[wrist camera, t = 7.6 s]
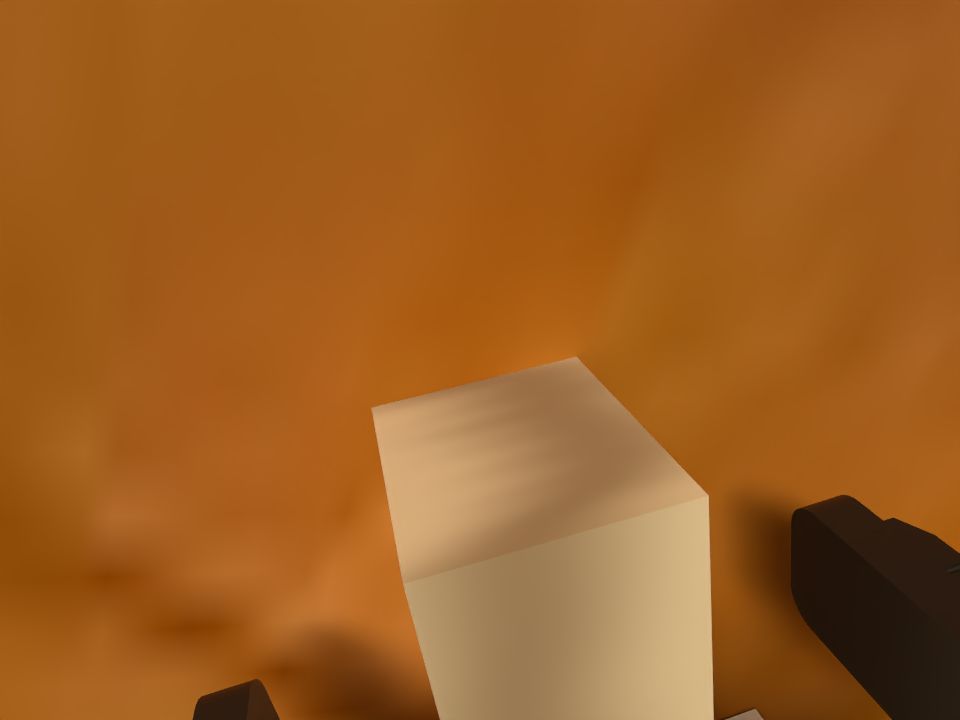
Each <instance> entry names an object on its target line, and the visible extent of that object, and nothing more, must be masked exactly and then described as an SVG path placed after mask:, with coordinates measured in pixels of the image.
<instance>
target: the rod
mask: <svg viewBox="0 0 960 720" xmlns="http://www.w3.org/2000/svg"><path fill="white" fill-rule="evenodd" d="M372 413H373V419H374V425H375V430H376V436H377V441H378V447H379V452H380V458H381V464H382V469H383V475H384V480H385V486H386V492H387V497H388V503H389V508H390V514H391V519H392V525H393V531H394V536H395V542H396V547H397V553H398V558H399V564H400V570H401V575H402V581H403V586H404V589H405V593H406V597H407V600H408V604H409V608H410V611H411V615H412V619H413V622H414V626H415V630H416V633H417V637H418V641H419V644H420V648H421V652H422V655H423V659H424V663H425V666H426V670H427V674H428V677H429V681H430V685H431V688H432V692H433V696H434V699H435V703H436V707H437V710H438V714H439V718H440V720H714V708H713V665H712V622H711V578H710V535H709V496H708V495H707V494H706V492H705V491H704V490H703V489H702V488H701V487H700V486H699V485H698V484H697V483H696V482H695V481H694V480H693V479H692V478H691V477H690V476H689V475H688V474H687V473H686V471H685V470H684V469H683V468H682V467H681V466H680V465H679V464H678V463H677V462H676V461H675V460H674V459H673V458H672V457H671V456H670V455H669V454H668V453H667V451H666V450H665V449H664V448H663V447H662V446H661V445H660V444H659V443H658V442H657V441H656V440H655V439H654V438H653V437H652V436H651V435H650V434H649V433H648V432H647V430H646V429H645V428H644V427H643V426H642V425H641V424H640V423H639V422H638V421H637V420H636V419H635V418H634V417H633V416H632V415H631V414H630V413H629V412H628V411H627V409H626V408H625V407H624V406H623V405H622V404H621V403H620V402H619V401H618V400H617V399H616V398H615V397H614V396H613V395H612V394H611V393H610V392H609V391H608V389H607V388H606V387H605V386H604V385H603V384H602V383H601V382H600V381H599V380H598V379H597V378H596V377H595V376H594V375H593V374H592V373H591V372H590V371H589V370H588V368H587V367H586V366H585V365H584V364H583V363H582V362H581V361H580V360H579V359H578V358H577V357H574V358H570V359H566V360H562V361H558V362H554V363H550V364H546V365H542V366H538V367H534V368H530V369H526V370H522V371H518V372H513V373H509V374H505V375H501V376H497V377H493V378H489V379H485V380H481V381H477V382H473V383H469V384H465V385H461V386H457V387H453V388H449V389H445V390H441V391H437V392H433V393H429V394H425V395H421V396H417V397H413V398H409V399H405V400H401V401H397V402H393V403H389V404H385V405H381V406H377V407H373V408H372Z"/></svg>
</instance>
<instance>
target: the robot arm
mask: <svg viewBox="0 0 960 720" xmlns="http://www.w3.org/2000/svg"><path fill="white" fill-rule="evenodd" d="M791 588H792V593H793V597H794V600H795V603H796V605H797V607H798V610H799V612H800V614H801V615H802V617H803V619H804V620H805V622H806V623H807V625H808V626H809V627H810V628H811V629H812V631H813V632H814V633H815V634H816V635H817V636H818V637H819V638H820V640H821V641H822V642H823V643H824V644H825V645H826V646H827V647H828V648H829V650H830V651H831V652H832V653H833V654H834V655H835V656H836V657H837V659H838V660H839V661H840V662H841V663H842V664H843V665H844V666H845V667H846V669H847V670H848V671H849V672H850V673H851V674H852V675H853V676H854V678H855V679H856V680H857V681H858V682H859V683H860V684H861V685H862V686H863V688H864V689H865V690H866V691H867V692H868V693H869V694H870V695H871V697H872V698H873V699H874V700H875V701H876V702H877V703H878V704H879V705H880V707H881V708H882V709H883V710H884V711H885V712H886V713H887V714H888V716H889V717H890V718H891V719H892V720H960V553H958V552H957V551H955V550H954V549H953V548H951V547H950V546H949V545H947V544H946V543H945V542H943V541H942V540H941V539H939V538H938V537H937V536H935V535H933V534H931V533H928V532H926V531H924V530H921V529H919V528H917V527H914V526H912V525H909V524H907V523H905V522H902V521H900V520H898V519H895V518H891V519H888V520H885V521H883V520H882V519H880V518H879V517H878V516H876V515H875V514H874V513H873V512H871V511H870V510H869V509H868V508H866V507H865V506H864V505H862V504H861V503H860V502H859V501H857V500H856V499H854V498H852V497H850V496H847V495H840V496H837V497H834V498H831V499H828V500H825V501H821V502H818V503H815V504H812V505H809V506H806V507H803V508H799V509H797V510H795V511H794V513H793V515H792V521H791ZM193 720H280V719H279V717H278V715H277V713H276V711H275V709H274V707H273V704H272V702H271V700H270V698H269V696H268V694H267V692H266V689H265V687H264V686H263V684H262V683H261V681H259V680H258V679H255V680H252V681H249V682H246V683H242V684H239V685H236V686H233V687H230V688H227V689H224V690H220V691H217V692H214V693H211V694H208V695H205V696H202V697H201V698H200V699H199V700H198V702H197V704H196V707H195V711H194V716H193Z"/></svg>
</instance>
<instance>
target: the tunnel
mask: <svg viewBox="0 0 960 720" xmlns="http://www.w3.org/2000/svg"><path fill="white" fill-rule="evenodd" d="M725 720H763V718H762V717H761V716H760V714H759V713H758V711H757V710H756V709H753V710H750V711H748V712H745V713H742V714H739V715H737V716H734V717H731V718H728V719H725Z"/></svg>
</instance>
